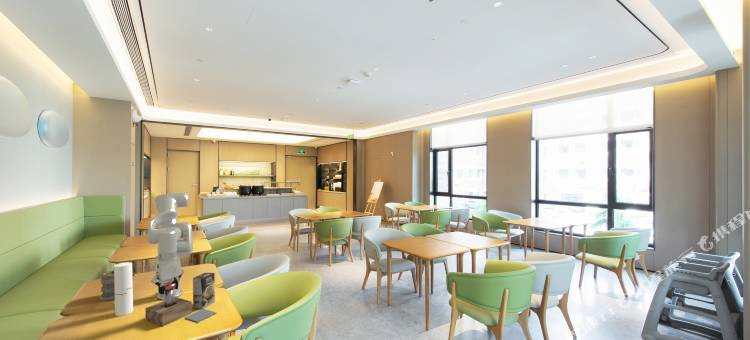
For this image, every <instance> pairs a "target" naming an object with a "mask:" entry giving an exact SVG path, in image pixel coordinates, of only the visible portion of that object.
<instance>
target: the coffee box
mask: <svg viewBox="0 0 750 340" xmlns="http://www.w3.org/2000/svg"><path fill="white" fill-rule="evenodd" d="M215 275H216V273H215V272H203V273H201V274H199V275H197V276H194V277H192V309H200V310H202V309H206V308H207V307H209V306H210V305H212V304H213V303H215V302H216V286H215V283H216V282H215V279H216V276H215Z"/></svg>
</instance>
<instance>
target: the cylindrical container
mask: <svg viewBox="0 0 750 340" xmlns="http://www.w3.org/2000/svg"><path fill="white" fill-rule="evenodd" d="M113 270H114V285H115V299H114V313H115V316H116V317H123V316H126V314H127V315H130V314H131V313H133V312H134V293H133V289H134V288H133V276H132V272H133V263H132V262H130V261H128V262H121V263H116V264H114V265H113ZM132 311H133V312H132Z"/></svg>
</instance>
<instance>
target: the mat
mask: <svg viewBox="0 0 750 340" xmlns="http://www.w3.org/2000/svg"><path fill="white" fill-rule="evenodd" d="M216 314H218V313H217V312H215V311H212V310H210V309H206V308H204V309H200V310H197V311H196V312H192V313H191V314H189V315H187V316H185V317H184V319H185V320H188V321H192V322H194V323H200V322H203V321H204V320H206V319H208V318H211V317H212V316H215V315H216Z"/></svg>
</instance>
